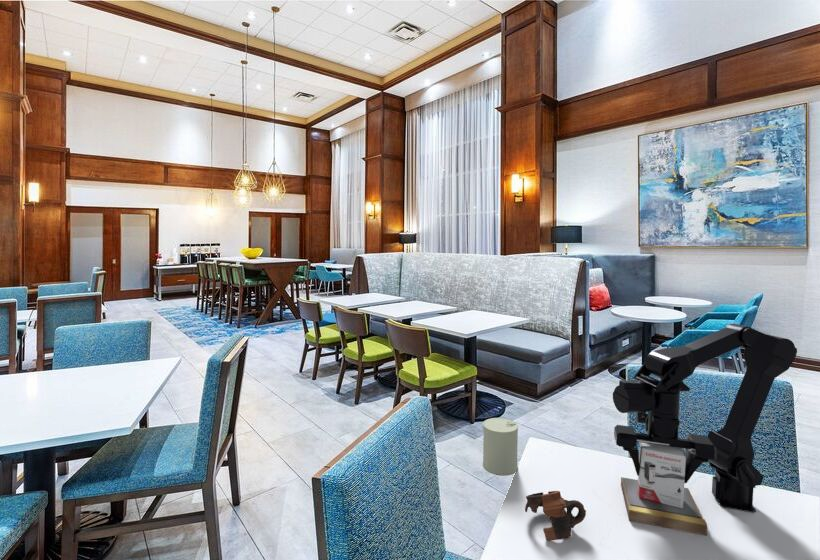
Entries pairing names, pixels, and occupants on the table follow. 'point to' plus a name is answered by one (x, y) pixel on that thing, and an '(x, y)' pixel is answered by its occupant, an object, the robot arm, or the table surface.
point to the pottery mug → (556, 513)
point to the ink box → (662, 474)
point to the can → (500, 446)
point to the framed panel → (662, 510)
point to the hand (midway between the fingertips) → (660, 478)
